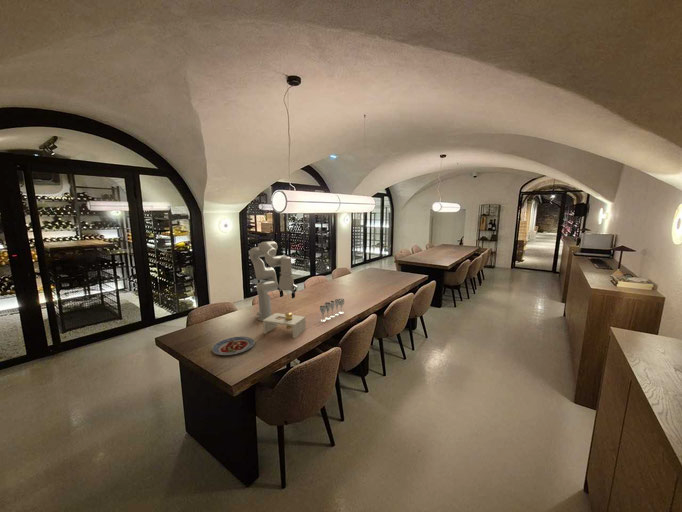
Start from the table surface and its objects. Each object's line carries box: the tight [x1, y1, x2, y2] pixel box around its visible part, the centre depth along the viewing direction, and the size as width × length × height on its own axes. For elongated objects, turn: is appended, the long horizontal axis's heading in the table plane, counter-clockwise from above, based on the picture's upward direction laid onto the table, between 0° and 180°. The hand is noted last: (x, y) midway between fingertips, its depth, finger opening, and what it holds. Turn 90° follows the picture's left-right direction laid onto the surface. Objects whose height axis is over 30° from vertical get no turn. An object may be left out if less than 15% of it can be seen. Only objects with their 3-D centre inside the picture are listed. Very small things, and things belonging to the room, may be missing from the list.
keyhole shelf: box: [262, 312, 307, 339], centre depth 209 cm, size 26×16×10 cm, turn 69°
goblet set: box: [319, 298, 345, 322], centre depth 237 cm, size 28×6×13 cm, turn 140°
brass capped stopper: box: [284, 312, 293, 330], centre depth 207 cm, size 5×5×10 cm
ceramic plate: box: [211, 335, 255, 356], centre depth 186 cm, size 26×26×3 cm
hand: (287, 297), depth 205 cm, fingers open, 9 cm apart
